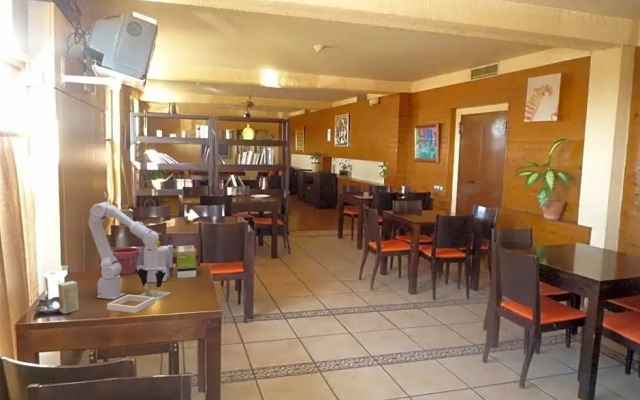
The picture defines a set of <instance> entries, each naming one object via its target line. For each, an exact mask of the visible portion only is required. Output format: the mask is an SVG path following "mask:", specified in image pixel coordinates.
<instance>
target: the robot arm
mask: <svg viewBox="0 0 640 400" xmlns="http://www.w3.org/2000/svg"><path fill="white" fill-rule="evenodd" d="M106 218H112V219H113V218H114V219H116V220H117V221H119V222H120V223H121V224H123V225H125V226H126V227H128V228H129V232H130V233H132V234H133V235H135V236H136V237H138V238H139V239H141V240H142V242H143V244H144V249H145V265H144V264H143V265H142V264H139V265H138V264H137V265H136V270H137V275H138V277H139V279H140V280H141V285H142V287H145V284H146V283H148V282H147V274H148V271H157V273H155V275H156V279H157V287H158V288H160V287H162V283H163V282H162V280H163V277H164V275H165V274H166V272H167V267H166V268H165V267H160V266H158V245H157V241H158V240H159V239H160V235H158V233H159V232H157V231H155V230H152V229H151V228H148V227H147V226H146V225H144V223H143V222H142V221H134V220H133V219H131V218H130V217H129V216H128V215H126V214H125V213H124V212H122V210H120V209H119V208H117V207H116V206H115V205H114V204H112V203H111V202H109V201H102V202H99V203H96V204H93V206H92V207H91V208H90V209H89V218H88V227H89V230H90V231H91V232H90V233H91V235H92V238H93V241H94V243H95V246H96V248H97V249H96V250H97V251H98V254H99V258H100V260H101V262H100V267H101V269H100V270H101V273H100V275H101V277H100V278H99V279H98V280H97V295H96V298H99V299H106V300H107V299H108V300H117V299H119V298H122V297H124V296H126V293H124V292H122V287H121V274H119V273H120V272H121V270H122V266H121V264H120V263H119V262H118V261H117V258H116V257H114V256H113V253H112V248H111V246H110V242H109V240H108V237H107V234H106V232H105V231H106V230H105V229H104V226H103V222H104V221H105V220H106Z"/></svg>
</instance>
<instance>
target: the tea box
mask: <svg viewBox="0 0 640 400" xmlns="http://www.w3.org/2000/svg"><path fill="white" fill-rule="evenodd" d="M176 270H177V271H176V273H177V278H178V279H185V278H196V277H197V255H196V248H195V245H193V244H192V245H179V246H177V245H176Z"/></svg>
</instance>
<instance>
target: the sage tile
mask: <svg viewBox="0 0 640 400" xmlns="http://www.w3.org/2000/svg"><path fill="white" fill-rule="evenodd" d="M171 294H172V293H171V292H169V291H159V290H158V295H156V296H154V297H155V302H157V301H159V300H161V299H164V298H165V297H167V296H169V295H171ZM138 296H145V291H144V292H142V293H140V294H139V295H138Z"/></svg>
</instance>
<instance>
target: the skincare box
mask: <svg viewBox="0 0 640 400" xmlns="http://www.w3.org/2000/svg"><path fill="white" fill-rule="evenodd" d="M57 285H58V286H57V288H58V300H59V301H58V302H59V312H60V313H62V314H64V315H65V314H69V313H72V312H76V311H79V310H80V308H79V306H80V305H79V293H78V291H79V290H78V282H77V281H74V280H70V281H64V282H61V283H58V284H57Z"/></svg>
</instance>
